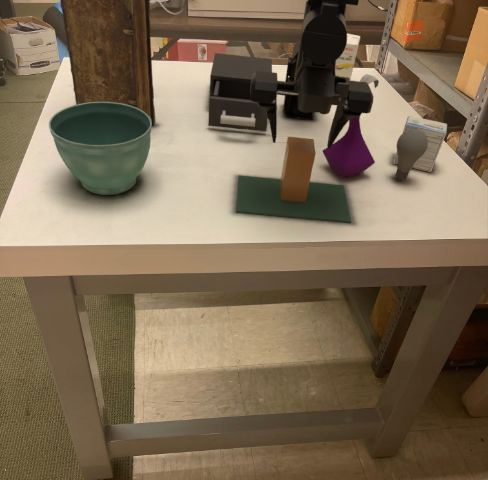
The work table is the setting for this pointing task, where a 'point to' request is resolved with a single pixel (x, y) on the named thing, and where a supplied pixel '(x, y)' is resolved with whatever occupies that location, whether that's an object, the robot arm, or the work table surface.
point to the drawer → (235, 107)
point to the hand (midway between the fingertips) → (301, 144)
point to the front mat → (269, 202)
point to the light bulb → (409, 151)
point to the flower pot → (103, 144)
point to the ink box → (347, 57)
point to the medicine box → (434, 136)
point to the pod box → (297, 169)
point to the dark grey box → (236, 68)
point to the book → (110, 51)
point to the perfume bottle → (351, 147)
